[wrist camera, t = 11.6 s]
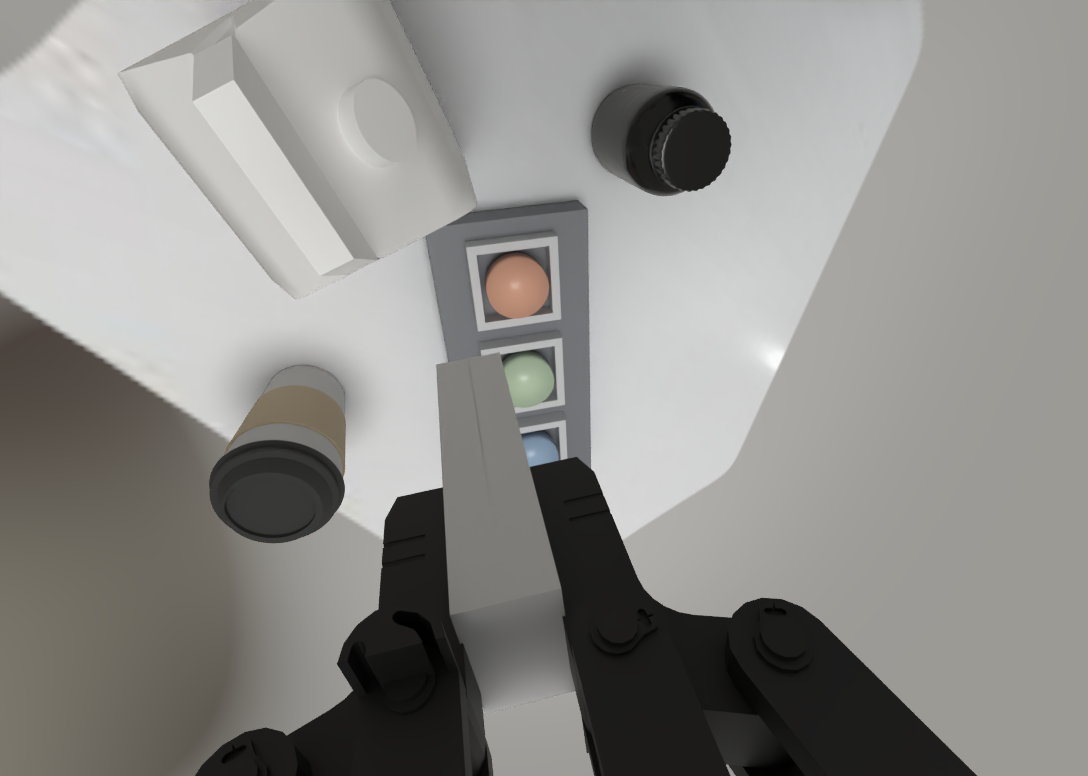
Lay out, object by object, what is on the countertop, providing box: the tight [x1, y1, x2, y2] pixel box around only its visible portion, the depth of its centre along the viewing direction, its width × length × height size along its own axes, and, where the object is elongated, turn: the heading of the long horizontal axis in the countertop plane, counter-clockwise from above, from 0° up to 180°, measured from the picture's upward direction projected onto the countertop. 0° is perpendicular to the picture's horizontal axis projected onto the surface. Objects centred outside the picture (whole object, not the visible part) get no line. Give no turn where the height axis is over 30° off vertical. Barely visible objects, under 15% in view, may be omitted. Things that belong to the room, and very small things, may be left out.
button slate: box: [521, 431, 559, 467], centre depth 53 cm, size 5×5×2 cm
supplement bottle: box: [592, 84, 731, 196], centre depth 38 cm, size 7×7×12 cm
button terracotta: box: [485, 253, 549, 319], centre depth 43 cm, size 5×5×2 cm
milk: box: [118, 0, 477, 299], centre depth 27 cm, size 12×12×26 cm
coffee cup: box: [209, 365, 346, 543], centre depth 43 cm, size 9×9×15 cm
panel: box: [426, 201, 591, 469], centre depth 50 cm, size 13×28×4 cm, turn 3°
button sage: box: [502, 351, 554, 408], centre depth 48 cm, size 5×5×2 cm
